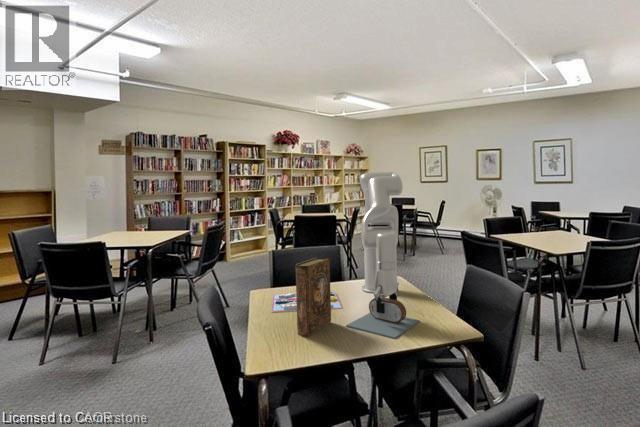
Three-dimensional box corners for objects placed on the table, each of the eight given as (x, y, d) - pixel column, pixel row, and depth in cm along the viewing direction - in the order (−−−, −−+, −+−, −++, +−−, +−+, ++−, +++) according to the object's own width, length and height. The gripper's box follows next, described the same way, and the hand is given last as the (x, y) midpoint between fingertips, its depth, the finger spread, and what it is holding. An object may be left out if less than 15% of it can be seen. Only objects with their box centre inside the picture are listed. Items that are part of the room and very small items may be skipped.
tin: (406, 323, 141) (406, 301, 140) (402, 325, 138) (402, 303, 138) (372, 315, 150) (371, 294, 150) (367, 317, 148) (367, 296, 147)
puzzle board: (271, 314, 159) (271, 308, 159) (273, 298, 182) (272, 293, 181) (343, 310, 162) (343, 304, 161) (335, 295, 184) (335, 289, 184)
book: (308, 337, 132) (306, 266, 130) (295, 334, 134) (293, 265, 133) (331, 322, 146) (329, 258, 144) (319, 320, 149) (317, 257, 147)
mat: (374, 311, 156) (374, 310, 156) (419, 321, 144) (419, 320, 144) (346, 326, 141) (346, 325, 141) (395, 339, 128) (395, 337, 128)
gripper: (388, 259, 152) (389, 301, 154) (365, 268, 139) (366, 313, 140) (405, 262, 148) (406, 304, 149) (384, 271, 134) (384, 318, 136)
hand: (387, 309), depth 145 cm, fingers open, 9 cm apart
